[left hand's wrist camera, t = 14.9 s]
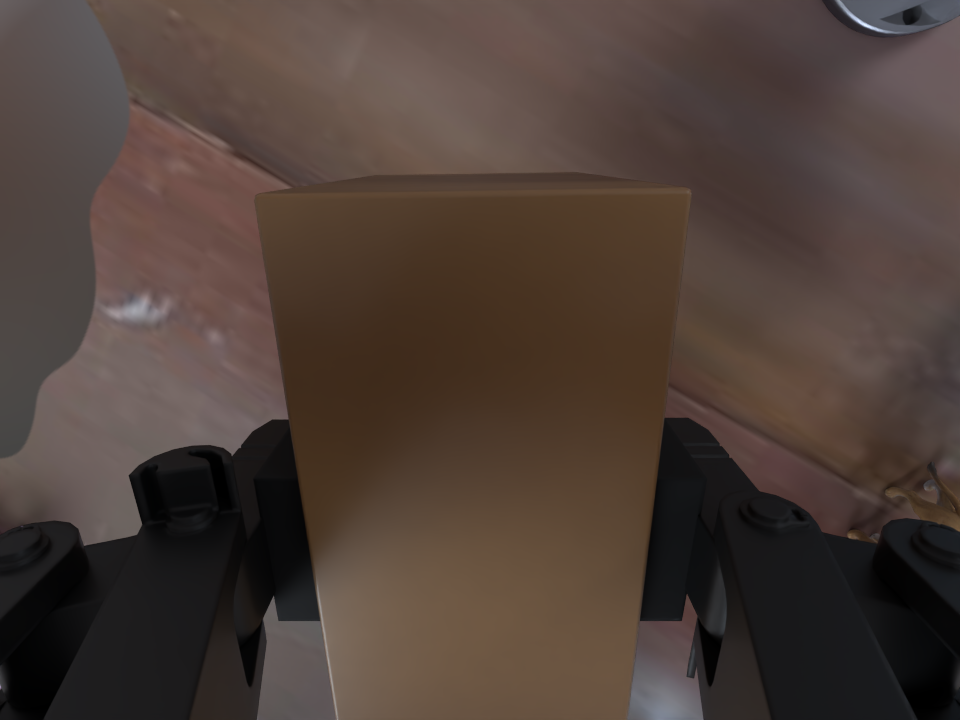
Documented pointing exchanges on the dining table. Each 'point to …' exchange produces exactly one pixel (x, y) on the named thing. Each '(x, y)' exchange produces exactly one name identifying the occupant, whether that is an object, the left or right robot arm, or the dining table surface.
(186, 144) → the dining table surface
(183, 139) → the dining table surface
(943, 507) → the lion figurine
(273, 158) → the dining table surface
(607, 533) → the bar
